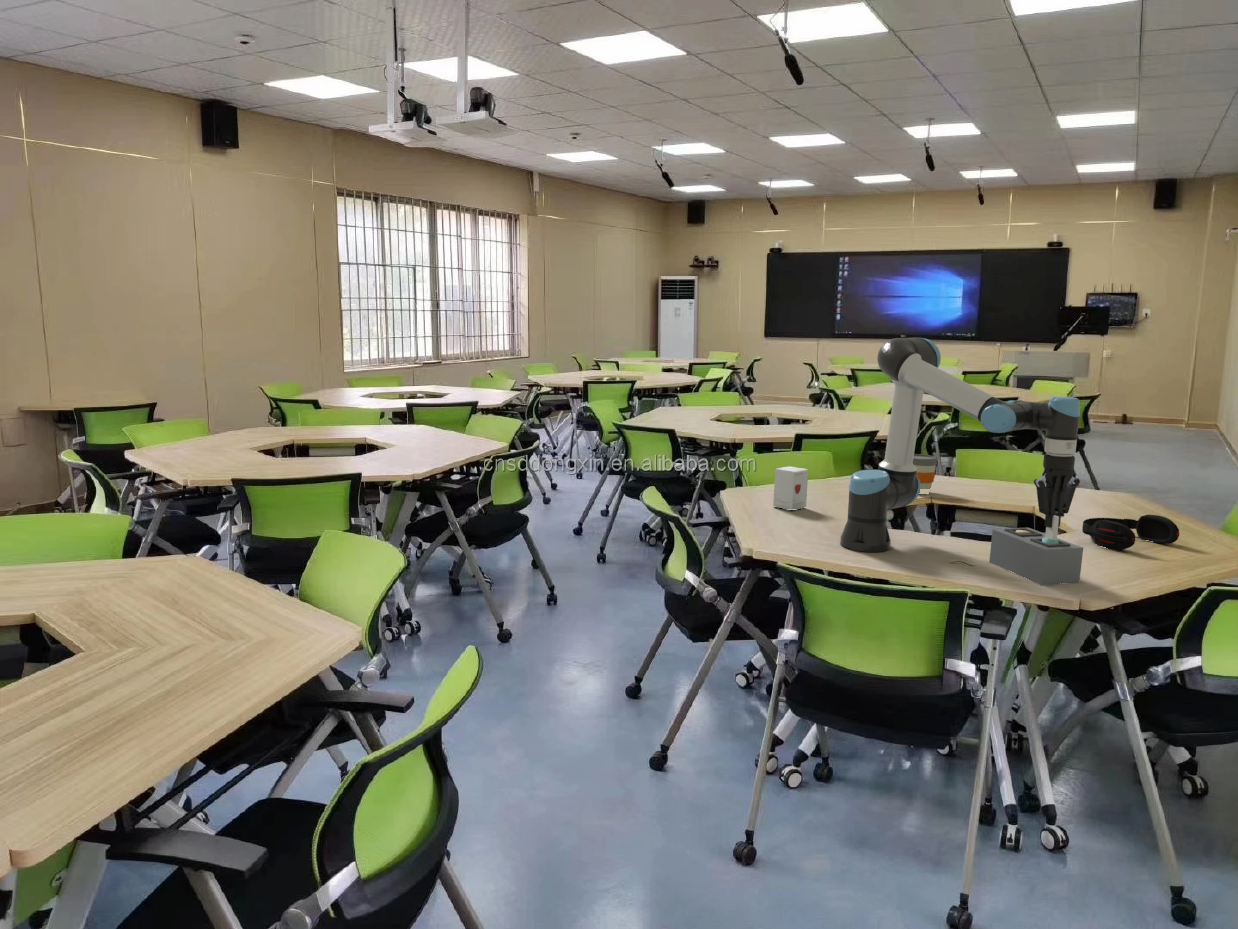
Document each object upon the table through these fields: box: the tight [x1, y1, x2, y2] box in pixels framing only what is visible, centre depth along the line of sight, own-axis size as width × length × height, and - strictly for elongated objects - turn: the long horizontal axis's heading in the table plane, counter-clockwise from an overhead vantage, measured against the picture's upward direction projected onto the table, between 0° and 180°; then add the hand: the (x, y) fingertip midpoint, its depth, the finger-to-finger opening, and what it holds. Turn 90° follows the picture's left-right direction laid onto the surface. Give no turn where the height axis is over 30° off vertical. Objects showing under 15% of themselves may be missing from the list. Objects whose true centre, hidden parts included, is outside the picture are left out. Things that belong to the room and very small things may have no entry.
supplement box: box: [772, 466, 809, 509], centre depth 315 cm, size 9×9×15 cm
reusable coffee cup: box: [913, 453, 938, 489], centre depth 346 cm, size 13×13×15 cm
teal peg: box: [1042, 538, 1059, 544], centre depth 234 cm, size 4×4×10 cm
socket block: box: [988, 527, 1084, 586], centre depth 240 cm, size 22×12×10 cm, turn 13°
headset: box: [1082, 514, 1180, 551], centre depth 272 cm, size 28×26×9 cm
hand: (1050, 538), depth 233 cm, fingers closed
